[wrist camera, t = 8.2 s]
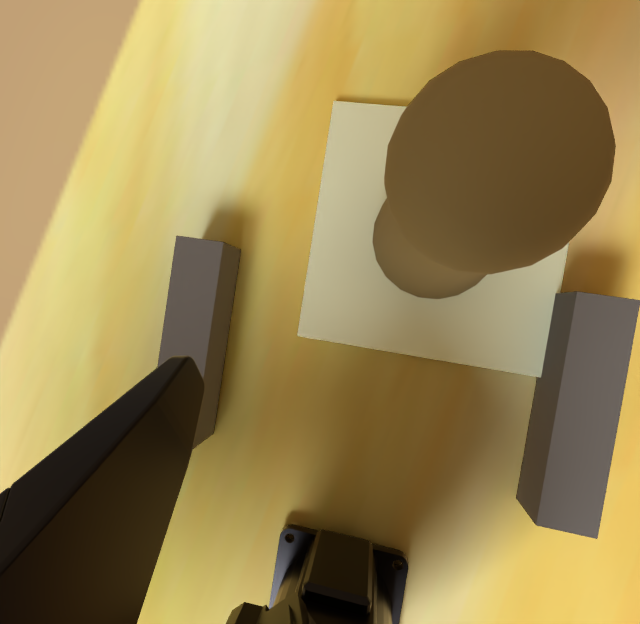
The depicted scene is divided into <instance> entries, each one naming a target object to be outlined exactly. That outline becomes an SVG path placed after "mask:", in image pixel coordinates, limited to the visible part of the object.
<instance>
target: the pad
mask: <svg viewBox="0 0 640 624" xmlns="http://www.w3.org/2000/svg"><path fill="white" fill-rule="evenodd" d="M406 108H407V107H404V106H391V105H379V104H367V103H354V102H342V101H333V107H332V114H331V120H330V127H329V133H328V140H327V146H326V153H325V159H324V165H323V172H322V178H321V185H320V191H319V198H318V204H317V211H316V217H315V224H314V230H313V237H312V243H311V250H310V256H309V263H308V269H307V276H306V282H305V288H304V295H303V301H302V308H301V314H300V321H299V327H298V334H297V336H299V337H305V338H311V339H317V340H323V341H329V342H335V343H340V344H346V345H352V346H358V347H364V348H370V349H375V350H381V351H387V352H393V353H399V354H405V355H411V356H416V357H422V358H428V359H434V360H440V361H446V362H452V363H457V364H463V365H469V366H475V367H481V368H487V369H492V370H498V371H504V372H510V373H516V374H522V375H528V376H533V377H539V378H541V374H542V369H543V363H544V357H545V351H546V346H547V340H548V334H549V329H550V323H551V317H552V311H553V306H554V300H555V294H556V293H560V292H561V287H562V281H563V275H564V269H565V264H566V258H567V252H568V246H569V242H568V243H567V245H566V246H565V247H564V248H562V249H560V250H559V251H557V252H555V253H553V254H551V255H550V256H548V257H546V258H544V259H542V260H541V261H539V262H537V263H535V264H533V265H531V266H527V267H523V268H518V269H514V270H509V271H504V272H500V273H495V274H487V275H486V276H485V277H484V278H483V279H482V280H481V281H480V282H479V283H478V284H477V285H476V286H474V287H472V288H470V289H468V290H467V291H465V292H463V293H461V294H459V295H457V296H452V297H447V298H442V299H430V298H420V297H416V296H414V295H412V294H410V293H407V292H405V291H403V290H400V289H399V288H398V287H397V286H396V285H395V284H394V283H392V282H391V281H390V280H389V279H388V278H387V277H386V276H385V274H384V273H383V271H382V269H381V268H380V266H379V264H378V262H377V261H376V256H375V252H374V247H373V242H372V241H373V232H374V223H375V220H376V218H377V216H378V214H379V212H380V209H381V207H382V205H383V203H384V202H385V200H386V198H387V195H386V190H385V186H384V175H385V166H386V157H387V148H388V144H389V141H390V139H391V137H392V135H393V132H394V130H395V128H396V126H397V123H398V121H399V119H400V116H401V115H402V113H403V112H404V110H405V109H406Z"/></svg>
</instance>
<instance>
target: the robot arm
mask: <svg viewBox="0 0 640 624" xmlns="http://www.w3.org/2000/svg"><path fill="white" fill-rule="evenodd" d="M204 392H205V383H204V380H203V377H202V375H201V373H200V371H199V369H198V367H197V365H196V363H195V361H194V359H193V358H192V357H191V356H172V357H170V358H169V359H167V360H166V361H165V362H164V363H162V364H161V365H160V366H159V367H157V368H156V369H155V370H154V371H153V372H151V373H150V374H149V375H148V376H146V377H145V378H144V379H143V380H141V381H140V382H139V383H138V384H136V385H135V386H134V387H133V388H131V389H130V390H129V391H128V392H126V393H125V394H124V395H123V396H121V397H120V398H119V399H118V400H116V401H115V402H114V403H113V404H111V405H110V406H109V407H108V408H106V409H105V410H104V411H103V412H102V413H100V414H99V415H98V416H97V417H95V418H94V419H93V420H92V421H90V422H89V423H88V424H87V425H85V426H84V427H83V428H82V429H80V430H79V431H78V432H77V433H75V434H74V435H73V436H72V437H70V438H69V439H68V440H67V441H65V442H64V443H63V444H62V445H60V446H59V447H58V448H57V449H55V450H54V451H53V452H52V453H50V454H49V455H48V456H47V457H45V458H44V459H43V460H42V461H41V462H39V463H38V464H37V465H36V466H34V467H33V468H32V469H31V470H29V471H28V472H27V473H26V474H24V475H23V476H22V477H21V478H19V479H18V480H17V481H16V482H14V483H13V484H12V486H11V488H7V489H5V490H4V491H3V492H2V493H1V494H0V624H137V621H138V618H139V615H140V612H141V609H142V606H143V602H144V599H145V596H146V593H147V590H148V587H149V584H150V581H151V578H152V575H153V572H154V569H155V566H156V562H157V559H158V556H159V553H160V550H161V547H162V544H163V541H164V538H165V535H166V532H167V529H168V525H169V522H170V519H171V516H172V513H173V510H174V507H175V504H176V501H177V498H178V495H179V492H180V488H181V485H182V482H183V479H184V476H185V473H186V470H187V467H188V464H189V460H190V457H191V453H192V449H193V444H194V440H195V435H196V430H197V425H198V421H199V416H200V411H201V406H202V402H203V397H204ZM289 533H290V534H292V535H293V536H294V538H293V539H290V538H288V537H287V534H289ZM395 560H399V561H401V562H402V564H400V565H395V564H394V563H393V562H394V561H395ZM407 572H408V560H407V557H406V555H405V554H404V553H403V552H401V551H399V550H395V549H391V548H387V547H383V546H379V545H375V544H371V543H370V542H369V541H368V540H364V539H360V538H356V537H351V536H347V535H343V534H339V533H335V532H331V531H327V530H321V531H317V530H313V529H309V528H304V527H300V526H296V525H286V526H285V527H284V528H283V530H282V532H281V535H280V540H279V546H278V553H277V559H276V565H275V572H274V578H273V585H272V591H271V598H270V604H269V608H268V607H267V605H265V606H263V607H262V606H258V605H254V604H250V603H246V602H244V603H243V604H241V605H240V606H238V607H237V608H235V609H234V610H232V612H231V614H230V616H229V618H228V620H227V622H226V624H399V620H400V614H401V608H402V602H403V596H404V590H405V584H406V578H407Z"/></svg>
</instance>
